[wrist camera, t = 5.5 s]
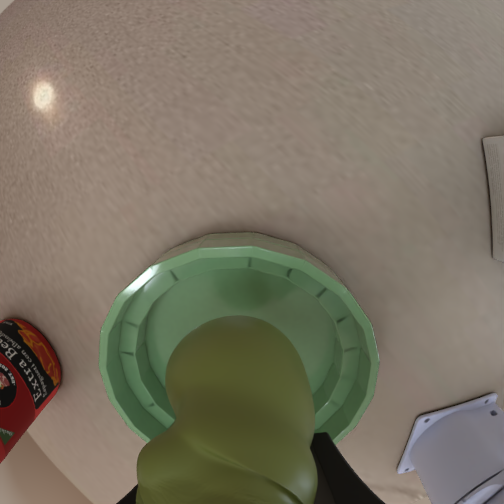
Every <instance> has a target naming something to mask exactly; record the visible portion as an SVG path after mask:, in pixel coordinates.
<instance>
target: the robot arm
mask: <svg viewBox="0 0 504 504" xmlns="http://www.w3.org/2000/svg"><path fill="white" fill-rule="evenodd" d="M496 398H497V394H496V393H492V394H489V395H486V396H484V397H481V398H478V399H475V400H472V401H469V402H466V403H463V404H460V405H456V406H453V407H450V408H446V409H443V410H439V411H436V412H432V413H428V414H425V415H421V416H419V417H418V418H417V419H416V421H415V424H414V427H413V430H412V432H411V435H410V438H409V441H408V443H407V446H406V449H405V451H404V454H403V456H402V459H401V461H400V464H399V466H398V468H397V473H398V474H402V473H405V472H409V471H413V470H416V472H417V474H418V476H419V478H420V480H421V482H422V484H423V486H424V489H425V491H426V493H427V495H428V497H429V499H430V501H431V503H432V504H504V412H503V411H502V410H501V409H500V407H499V406H498V405H497V404H496V403H495V401H496ZM310 450H311V453H312V455H313V458H314V461H315V464H316V468H317V475H318V485H317V492H316V496H315V501H314V504H385V503H384V502H383V501H382V500H381V499H380V498H379V497H378V496H376V495H375V494H374V493H373V492H372V491H371V490H370V489H369V488H368V486H367V485H366V484H365V483H364V482H363V481H362V480H361V479H360V478H359V477H358V475H357V474H356V473H355V472H354V470H353V469H352V468H351V467H350V465H349V464H348V463H347V461H346V460H345V459H344V457H343V456H342V454H341V453H340V452H339V450H338V449H337V447H336V446H335V444H334V442H333V441H332V439H331V437H330V435H329V434H328V433H327V432H321V433H314V436H313V440H312V443H311V446H310ZM137 489H138V484H137V485H136V486H135V487H134V488H133V489H132V490H131V491H130V492H129V493H128V494H127V495H126V496H125V497H124V498H122V499H121V500H120V501H119V502H118V503H116V504H136V494H137Z"/></svg>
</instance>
